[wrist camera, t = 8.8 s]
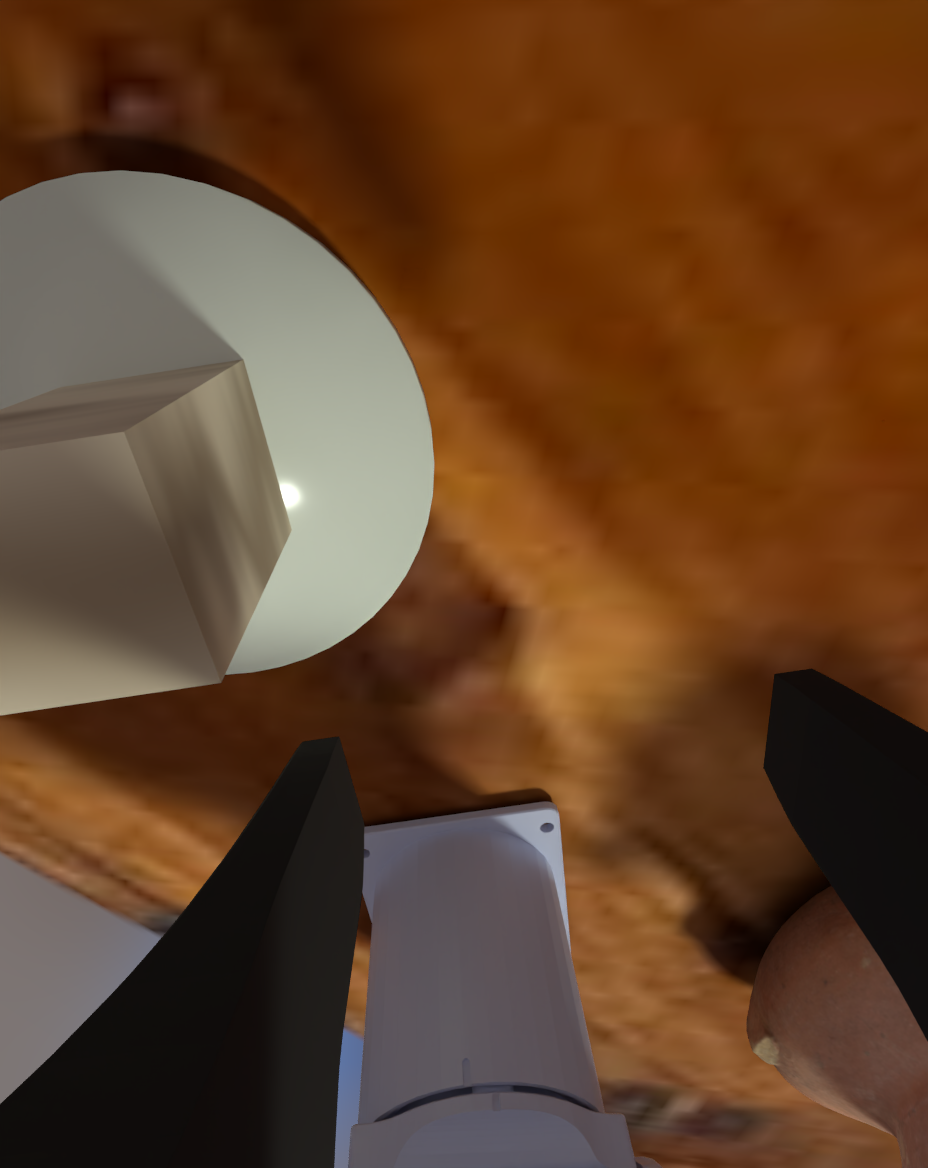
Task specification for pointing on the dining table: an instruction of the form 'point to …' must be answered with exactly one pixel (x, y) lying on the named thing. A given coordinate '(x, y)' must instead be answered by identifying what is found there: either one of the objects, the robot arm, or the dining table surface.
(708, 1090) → the dining table surface
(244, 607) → the block
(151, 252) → the plate
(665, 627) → the dining table surface
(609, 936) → the dining table surface
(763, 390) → the dining table surface
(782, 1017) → the ceramic jug
